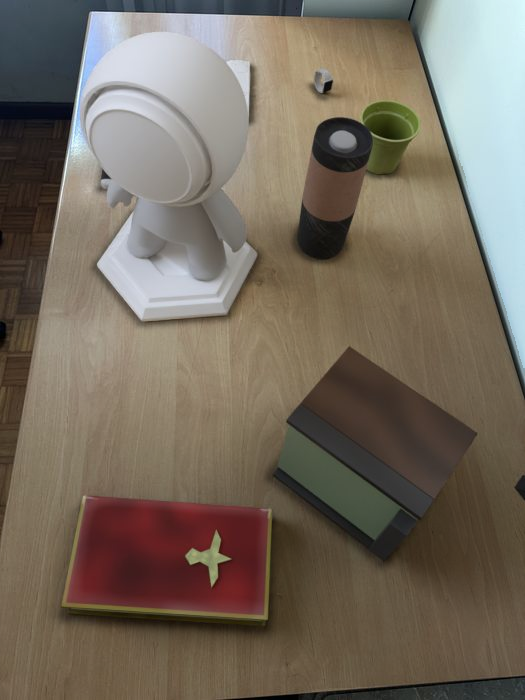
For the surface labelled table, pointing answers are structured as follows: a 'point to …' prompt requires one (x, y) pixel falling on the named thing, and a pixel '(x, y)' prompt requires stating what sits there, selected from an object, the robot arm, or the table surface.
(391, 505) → the closet door
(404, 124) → the plant pot
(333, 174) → the travel mug
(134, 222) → the white cartoon figure
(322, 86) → the smartwatch
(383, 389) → the closet
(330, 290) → the table surface
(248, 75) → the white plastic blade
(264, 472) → the table surface
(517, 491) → the robot arm
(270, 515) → the hardcover book
